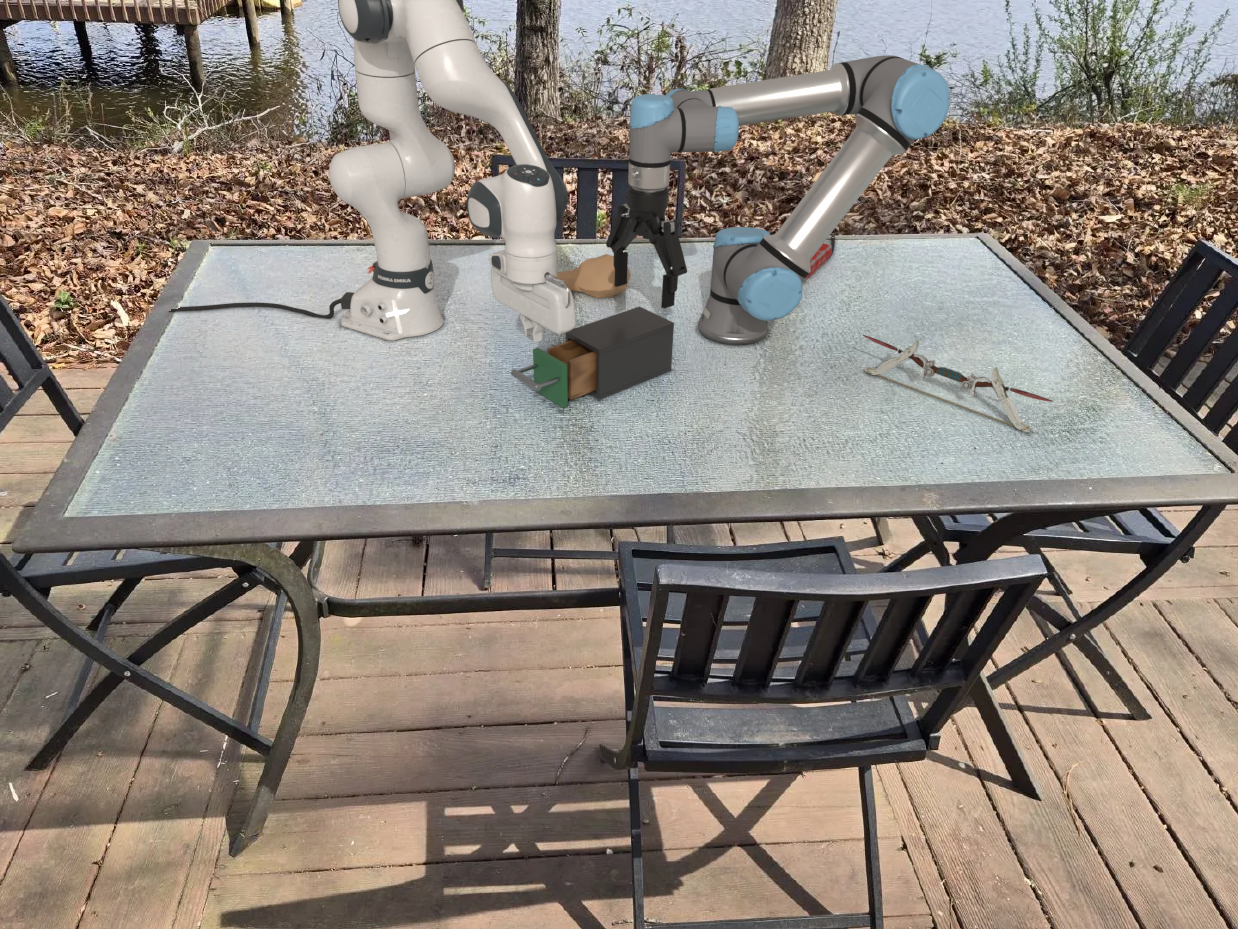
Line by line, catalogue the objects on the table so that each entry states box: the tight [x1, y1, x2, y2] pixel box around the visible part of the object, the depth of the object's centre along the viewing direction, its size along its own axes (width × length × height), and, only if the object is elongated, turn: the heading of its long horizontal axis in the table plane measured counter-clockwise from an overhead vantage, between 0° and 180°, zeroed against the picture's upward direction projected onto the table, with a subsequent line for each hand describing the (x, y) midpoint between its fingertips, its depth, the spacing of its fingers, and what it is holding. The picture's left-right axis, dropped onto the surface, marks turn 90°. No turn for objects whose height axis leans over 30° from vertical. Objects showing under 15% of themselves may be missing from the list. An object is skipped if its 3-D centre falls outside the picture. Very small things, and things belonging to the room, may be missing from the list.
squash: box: [556, 253, 631, 299], centre depth 210 cm, size 11×20×9 cm, turn 90°
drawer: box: [510, 340, 596, 409], centre depth 168 cm, size 24×9×9 cm, turn 131°
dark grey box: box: [565, 305, 675, 401], centre depth 175 cm, size 19×10×11 cm, turn 131°
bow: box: [862, 334, 1055, 433], centre depth 169 cm, size 39×2×10 cm, turn 47°
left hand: (533, 338), depth 158 cm, fingers closed
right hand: (643, 295), depth 172 cm, fingers open, 13 cm apart
